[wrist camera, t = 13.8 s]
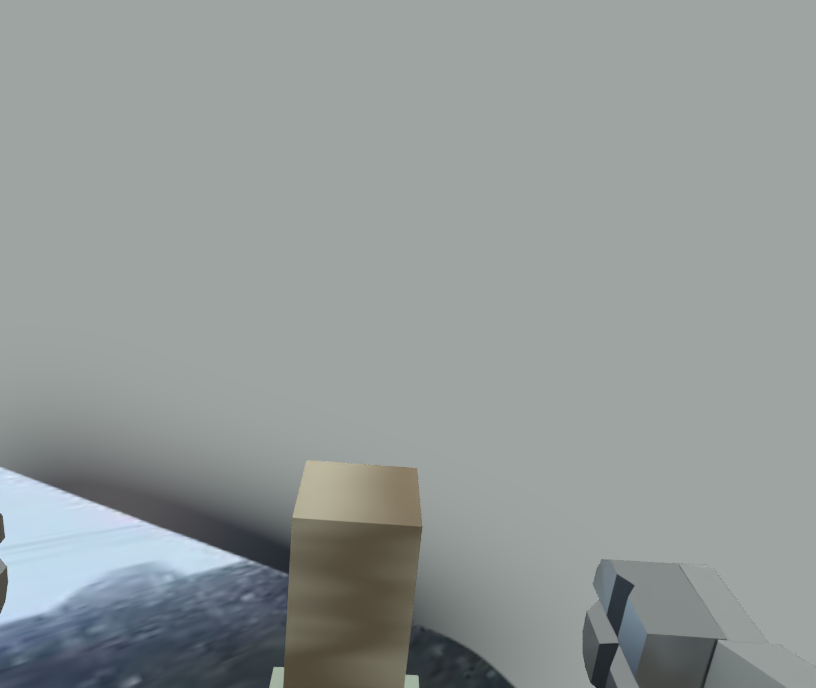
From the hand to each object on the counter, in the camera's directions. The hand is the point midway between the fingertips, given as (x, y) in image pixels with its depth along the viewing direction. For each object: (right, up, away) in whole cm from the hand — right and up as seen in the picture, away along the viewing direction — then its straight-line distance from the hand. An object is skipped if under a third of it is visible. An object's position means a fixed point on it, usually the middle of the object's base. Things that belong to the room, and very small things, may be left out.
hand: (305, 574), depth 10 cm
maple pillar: (-1, -11, +17) cm, 20 cm away
